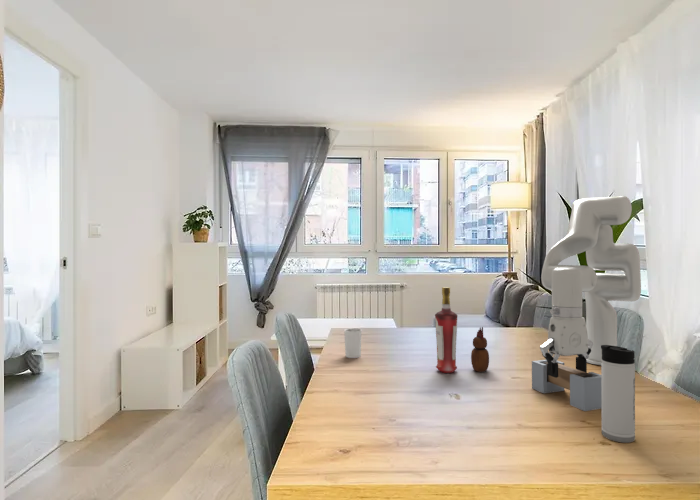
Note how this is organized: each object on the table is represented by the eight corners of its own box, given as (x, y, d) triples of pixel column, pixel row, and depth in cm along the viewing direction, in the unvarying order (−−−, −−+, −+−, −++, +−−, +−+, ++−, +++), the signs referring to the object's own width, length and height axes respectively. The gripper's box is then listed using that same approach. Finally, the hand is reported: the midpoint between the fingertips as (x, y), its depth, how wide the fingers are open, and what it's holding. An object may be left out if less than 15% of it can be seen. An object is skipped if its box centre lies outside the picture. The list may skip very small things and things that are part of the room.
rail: (552, 378, 129) (552, 361, 129) (592, 393, 116) (592, 374, 116) (543, 379, 128) (543, 362, 128) (582, 395, 115) (582, 375, 115)
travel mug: (593, 431, 100) (593, 342, 100) (621, 430, 100) (621, 342, 100) (612, 443, 94) (612, 349, 93) (642, 442, 94) (641, 348, 94)
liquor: (433, 368, 152) (433, 286, 152) (455, 368, 152) (454, 286, 152) (437, 374, 145) (436, 288, 145) (459, 374, 145) (459, 288, 144)
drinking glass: (362, 354, 173) (362, 328, 173) (361, 358, 166) (360, 331, 166) (345, 353, 173) (345, 328, 173) (343, 358, 167) (343, 331, 167)
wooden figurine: (490, 373, 145) (489, 328, 145) (471, 372, 146) (471, 327, 146) (488, 368, 152) (487, 324, 152) (470, 367, 153) (470, 323, 153)
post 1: (552, 385, 132) (552, 358, 132) (564, 390, 128) (564, 362, 128) (531, 388, 130) (531, 361, 130) (543, 393, 126) (543, 365, 125)
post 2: (584, 411, 112) (584, 379, 112) (569, 404, 116) (569, 374, 116) (607, 407, 114) (607, 376, 114) (592, 401, 119) (591, 371, 119)
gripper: (551, 316, 116) (551, 381, 116) (602, 312, 121) (603, 374, 121) (531, 312, 123) (531, 373, 123) (580, 308, 128) (581, 367, 128)
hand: (567, 374), depth 122 cm, fingers open, 9 cm apart
